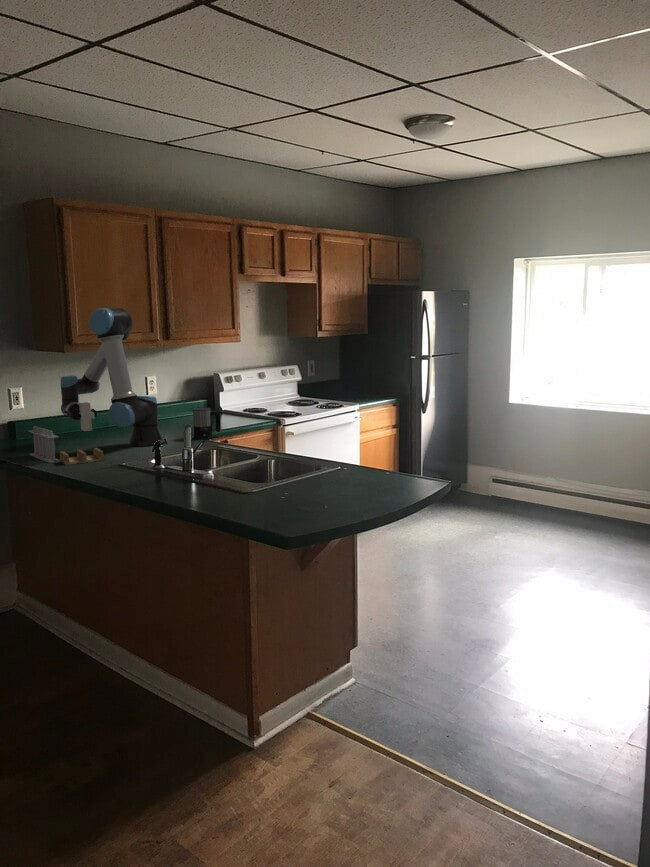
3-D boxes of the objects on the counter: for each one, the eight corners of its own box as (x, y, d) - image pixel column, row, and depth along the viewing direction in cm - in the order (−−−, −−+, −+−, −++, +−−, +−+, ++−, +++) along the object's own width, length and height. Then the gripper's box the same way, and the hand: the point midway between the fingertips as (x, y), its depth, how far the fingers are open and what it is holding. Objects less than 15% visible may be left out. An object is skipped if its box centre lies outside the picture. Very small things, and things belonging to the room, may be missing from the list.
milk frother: (198, 440, 353) (197, 410, 351) (183, 436, 366) (182, 407, 363) (223, 437, 362) (223, 407, 360) (208, 433, 374) (207, 405, 372)
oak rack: (98, 456, 313) (97, 447, 312) (104, 460, 304) (103, 451, 304) (59, 460, 304) (59, 451, 304) (65, 465, 296) (64, 455, 295)
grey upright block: (89, 429, 321) (87, 402, 319) (92, 430, 316) (90, 403, 314) (81, 429, 319) (79, 402, 317) (84, 431, 315) (82, 403, 313)
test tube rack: (29, 455, 318) (27, 425, 316) (39, 454, 321) (37, 424, 319) (50, 463, 300) (48, 432, 297) (61, 462, 302) (58, 431, 300)
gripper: (94, 417, 337) (108, 423, 317) (57, 420, 328) (69, 426, 308) (93, 401, 335) (107, 406, 316) (56, 404, 327) (68, 409, 307)
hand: (88, 416), depth 312 cm, fingers closed on grey upright block, 3 cm apart
